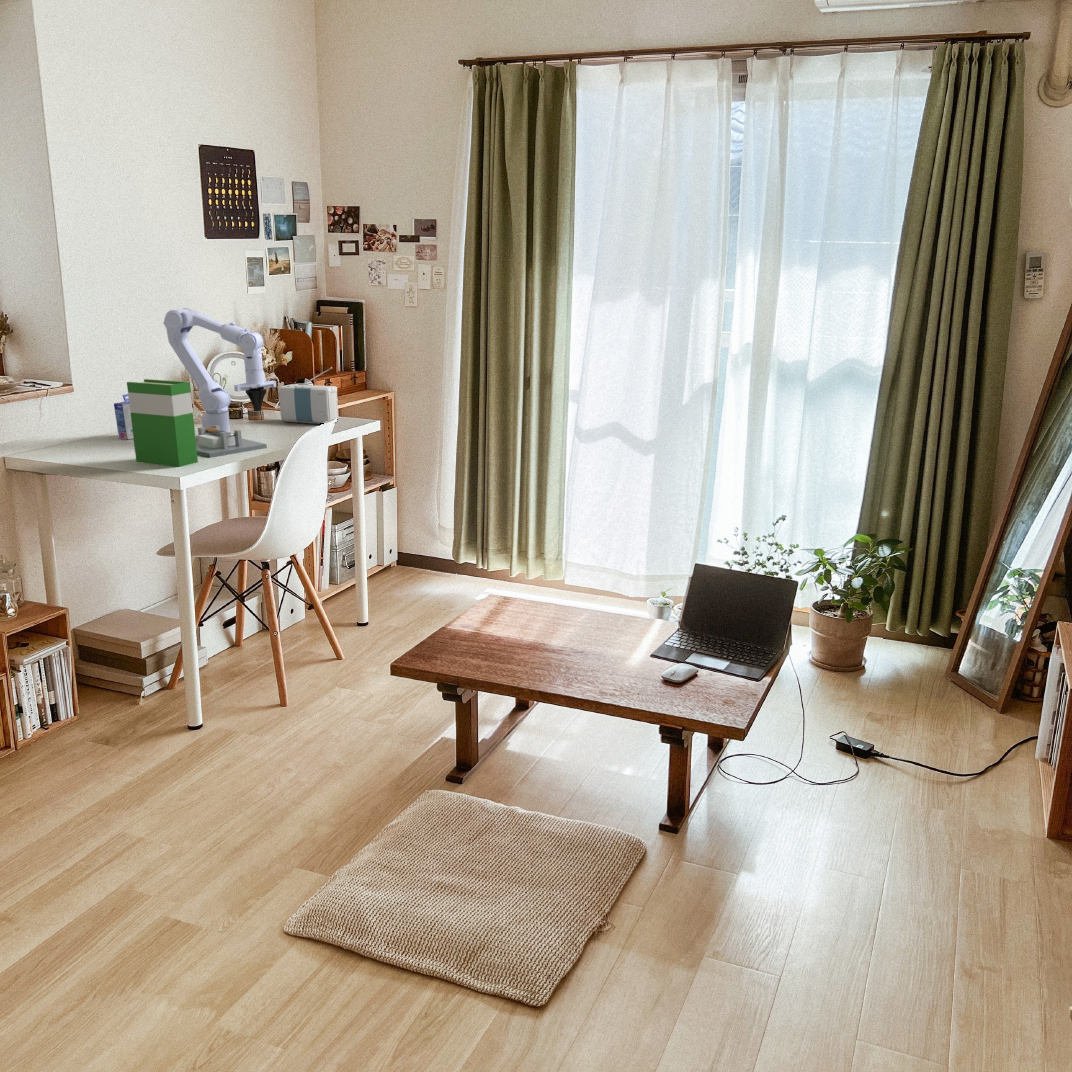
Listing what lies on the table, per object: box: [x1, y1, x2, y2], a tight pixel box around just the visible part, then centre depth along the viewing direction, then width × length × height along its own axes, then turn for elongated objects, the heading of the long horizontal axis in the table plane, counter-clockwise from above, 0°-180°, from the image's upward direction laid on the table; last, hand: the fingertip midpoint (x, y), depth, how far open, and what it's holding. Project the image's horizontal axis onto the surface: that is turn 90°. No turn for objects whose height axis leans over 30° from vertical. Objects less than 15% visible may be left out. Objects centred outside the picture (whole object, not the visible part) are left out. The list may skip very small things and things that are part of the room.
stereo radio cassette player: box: [278, 366, 339, 425], centre depth 372 cm, size 21×8×20 cm, turn 67°
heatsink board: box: [196, 425, 268, 458], centre depth 330 cm, size 22×20×6 cm
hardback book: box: [126, 378, 199, 468], centre depth 307 cm, size 18×7×24 cm, turn 63°
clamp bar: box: [205, 427, 236, 437], centre depth 329 cm, size 14×3×1 cm, turn 47°
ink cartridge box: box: [113, 393, 134, 440], centre depth 349 cm, size 10×6×14 cm, turn 146°
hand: (257, 410), depth 342 cm, fingers closed
